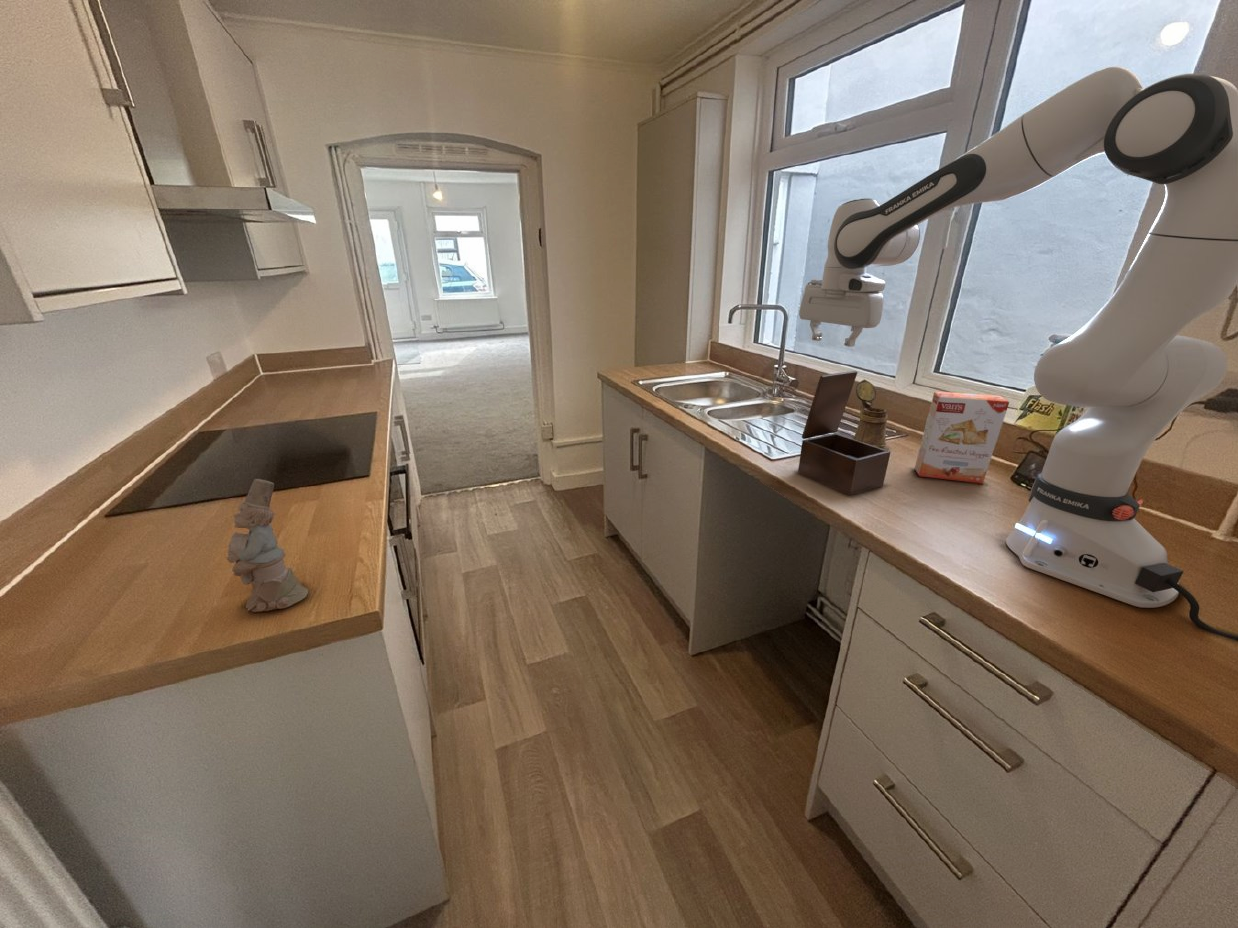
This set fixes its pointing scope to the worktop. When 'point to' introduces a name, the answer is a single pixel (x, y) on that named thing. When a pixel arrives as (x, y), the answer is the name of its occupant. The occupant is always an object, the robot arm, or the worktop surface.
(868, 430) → the wooden mug
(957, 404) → the cracker box
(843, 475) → the chest
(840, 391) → the lid
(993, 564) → the worktop surface
